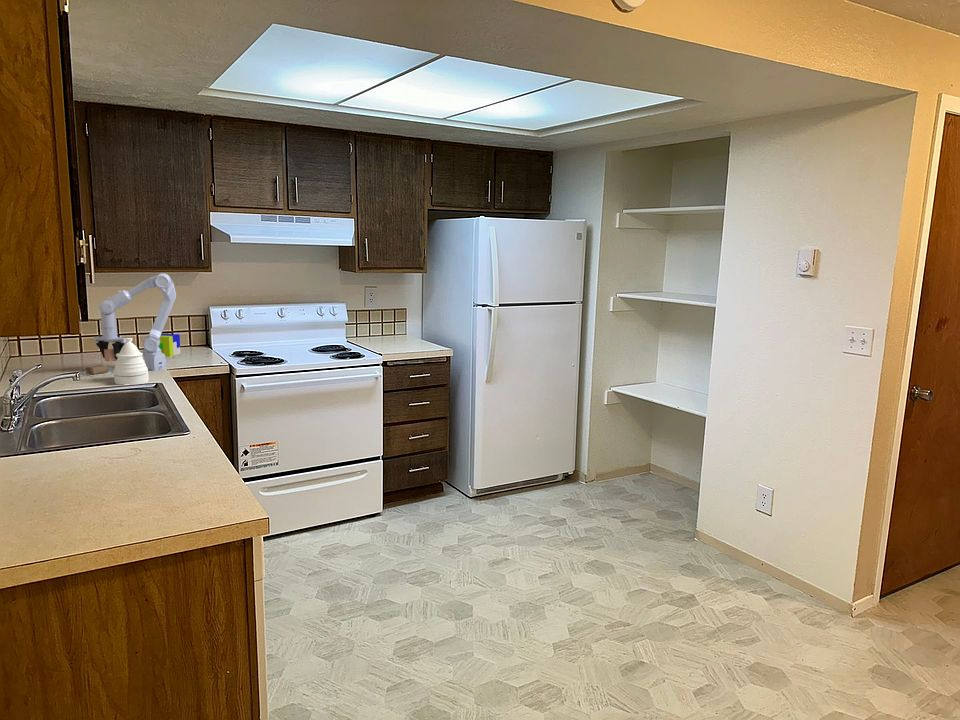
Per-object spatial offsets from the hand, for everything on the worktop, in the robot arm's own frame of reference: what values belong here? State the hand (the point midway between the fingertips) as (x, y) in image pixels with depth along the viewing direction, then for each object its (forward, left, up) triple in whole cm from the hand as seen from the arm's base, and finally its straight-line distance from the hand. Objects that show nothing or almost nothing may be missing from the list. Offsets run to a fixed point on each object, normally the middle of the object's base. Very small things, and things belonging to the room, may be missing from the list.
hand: (111, 358), depth 297 cm
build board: (-1, +4, -6) cm, 8 cm away
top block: (0, 0, -1) cm, 1 cm away
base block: (-2, +8, -5) cm, 10 cm away
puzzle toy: (+22, -41, -7) cm, 47 cm away
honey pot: (-24, +6, -7) cm, 26 cm away
